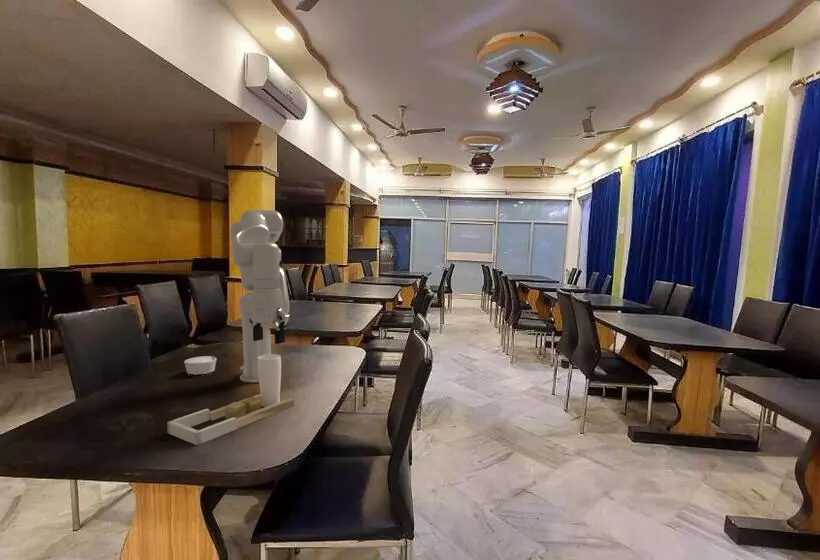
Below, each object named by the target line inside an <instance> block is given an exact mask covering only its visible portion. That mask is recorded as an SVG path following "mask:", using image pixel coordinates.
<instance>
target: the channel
mask: <svg viewBox="0 0 820 560" xmlns="http://www.w3.org/2000/svg"><path fill="white" fill-rule="evenodd" d="M252 397H256V398H260V399H261V393H260V394H257V395H254V396H252ZM238 402H240V403H241V400H240V401H238ZM292 407H295V399H294V398H291V397H289V398H285V399H284V400H282V401H281V400H280V402H278V403H276V404H273V405H270V406H268V407H262V408H261V409H260V410H257V411H255V412H252V413H249V414H247V415H244V416H241V417H239V418H236V421H237V429H239V428H242V427H245V426H247V425H250V424H252V423H254V422H256V421H257V422H258V421H260V420H261V419H264V417H265V418H267V417H269V415H270V416H271V415H274V413H275V414H277V413H280V412H281V411H284V410H286V409H289V408H292ZM223 417H225V406H221V407H219V408H216V409H214V410H210V420H209V421H215V420H217V419H219V418H223ZM259 419H260V420H259Z"/></svg>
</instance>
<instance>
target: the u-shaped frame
mask: <svg viewBox="0 0 820 560" xmlns="http://www.w3.org/2000/svg"><path fill="white" fill-rule="evenodd" d="M210 411H211V410H210V408H205V409H202V410H199V411H195V412H193V413H191V414H187V415H184V416H181V417H178V418H175V419H173V420H169V421H167V422H166V424H167V427H166V428H167V434H168V435H171V436H173V437H176V438H178V439H181V440H183V441H186V442H188V443H191V444H193V445H195V446H199V445H202V444H204V443H207V442H209V441H212V440H213V439H216V438H218V437H222V436H224V435H225V434H226V435H227V434H228V433H231V432H233V431H236V430H237V429H238V428H237V421H236V418H234V417H233V418H230V419H228V420H222V421H220V422H216V423H214V424H212V425H209V426H206V427H205V428H204V427H203V428H201V429H199V430H198V429H195V428H193V427H194V426H197V425H200V424H203V423H205V422H208V421H211V420H210Z"/></svg>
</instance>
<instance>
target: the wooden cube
mask: <svg viewBox="0 0 820 560" xmlns="http://www.w3.org/2000/svg"><path fill="white" fill-rule="evenodd" d="M240 401H241V403H246V406H247V414H249V413H252V412H255V411H257V410H260V409H262V404H261V399H260V398H256V397H253V396H250V397H247V398H244V399H241V400H240Z"/></svg>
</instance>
